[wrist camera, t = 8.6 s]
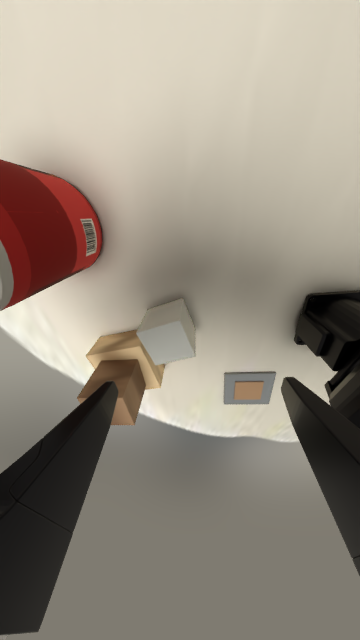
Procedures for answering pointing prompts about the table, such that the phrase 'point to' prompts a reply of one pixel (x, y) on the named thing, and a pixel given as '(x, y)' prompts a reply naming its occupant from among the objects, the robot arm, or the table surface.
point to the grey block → (168, 332)
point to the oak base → (127, 355)
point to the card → (248, 387)
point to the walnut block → (119, 387)
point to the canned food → (42, 232)
